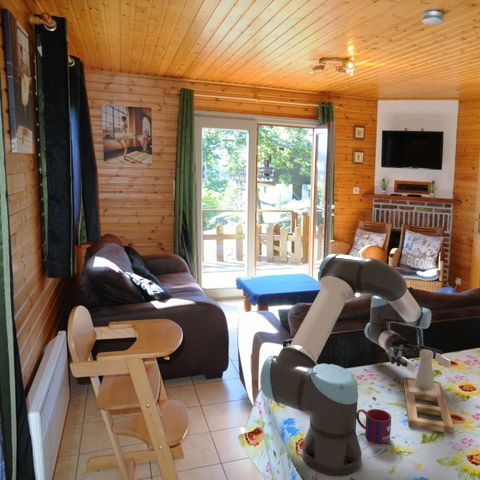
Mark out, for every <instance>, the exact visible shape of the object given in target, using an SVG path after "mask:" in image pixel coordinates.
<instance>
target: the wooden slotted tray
mask: <svg viewBox="0 0 480 480" xmlns="http://www.w3.org/2000/svg"><path fill="white" fill-rule="evenodd" d="M415 378H416V377H408V376H404V377H403V386H404V395H405V396H404V398H405V404H406V406H405V408H406V415H407V424H408V425H407V426H408V427H411V428H418V429H423V430H430V431H436V432H443V433H449V434H454V430H455V429H454V424H453V420H452V416H451V413H450V409H449V405H448V402H447V399H446V395H445V393H444V389H443V385H442V384H443V383H442V381H436V380H434V383H433V385H432V387H431V388H430V389H429V390H423V389H421V388H418V385H417V383H416V381H415Z"/></svg>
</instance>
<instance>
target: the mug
mask: <svg viewBox="0 0 480 480" xmlns="http://www.w3.org/2000/svg"><path fill="white" fill-rule="evenodd" d="M360 412H362V413H363V414H364V416H365V425H364V424H363V423H362V421H361V419H360ZM356 422H357V424H358V425H359V426H360V427H361V428H362V429H364V431H365V432H364V433H365V434H364V437H365V438H366V440H367V441H368V442H369V443H373V444H375V445H387V444H388V443H390V442H391V441H390V440H391V430H392V428H391V427H392V414H390V413H389V412H388V411H386V410H383V409H378V408H371V409H368V410H367V411H366V410H365V409H361V408H360V409H359V410H358V409H357V418H356Z"/></svg>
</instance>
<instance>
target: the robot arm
mask: <svg viewBox="0 0 480 480" xmlns="http://www.w3.org/2000/svg"><path fill="white" fill-rule="evenodd" d="M318 269H319V270H318V271H317V280H318V284H319V288H320V290H319V291H318V293H317V296H316V297H315V298H314V301H313V303H312V304H311V306H310V308H309V310H308V311H307V314H306V315H305V317H304V319H303V321H302V322H301V324H300V327H299V328H298V330H297V332H296V334H295V335H294V337H293V339H292V341H291V343H289V346H284V347H282V348H281V350H280V352H279V353H278V355H270V356H268V357H266V359H265V360H264V362H263V364H262V367H261V370H260V376H259V379H260V380H259V381H260V383H259V384H260V389H261V391H262V394H263V396H264V397H265V398H267V399H269V400H270V401H274V402H275V403H276V404H281V405H283V406H286V407H289V408H292V409H295V410H296V411H297V410H298V411H300V412H302V413H306V414H308V415H309V428H308V430H307V433H306V435H305V438H304V440H303V443H302V448H301V449H302V453H301V455H302V458H303V460H304V462H305V464H306V465H308V466H309V467H310V468H311V469H313V470H314V471H316V472H319V473H322V474H324V475H330V476H336V477H338V476H346V475H350V474H353V473H356V471H358V470H359V469H360V468H361V465H362V460H363V459H362V458H363V457H362V456H363V455H362V454H363V453H362V448H361V446H360V442H359V439H358V438H359V437H358V436H357V412H358V400H359V392H358V390H359V389H358V386H359V385H358V380H357V379H356V377H355V376H354V374H353V373H352V372H351V371H349V370H348V369H347V368H345V367H342V366H340V365H336V364H333V363H330V364H328V363H320V364H319V363H317V361H318V359H319V356H320V355H321V353H322V351H323V348H324V346H325V345H326V342H327V341H328V338H329V337H330V334H331V333H332V331H333V328H334V326H335V324H336V323H337V320H338V319H339V316H341V315H340V314H341V312H342V311H343V308H344V307H345V305H346V303H349V302H351V301H352V300H353V299H354V297H355V295H356V294H361V295H367V296H372V297H371V302H370V313H369V314H370V315H369V316H370V317H369V318H370V319H369V322H368V323H367V324H366V325H365V328H364V335H365V337H366V338H367V339H369V340H370V341H371V342H372V343H375V344H376V345H378V346H380V347H381V348H382V349H384V350H385V354H386V355H387V356H388V358H389V363H390V364H392V365H395V363H396V366H397V367H401V366H402V367H404V368H405V369H407V370H409V371H410V372H412V374H414V373H416V369H417V368H416V366H417V365H416V363H414V362H412V360H410V359H407V358H406V357H407V356H409V357H410V356H412V357H420V350H422V349H428V350H431V351H432V352H433V354H434V355H433V358H432V359H431V360H434V361H435V362H437V363H439V364H440V365H442V366H444V367H445V368H448V369H451V365H452V360H451V359H450V358H447V356H444V355H443V351H442V350H440V349H436V348H432V347H430V346H429V347H428V346H425V345H422V344H421V343H415V345H413V344H411V343H409V341H408V340H407V338H406V337H404V336H402V335H400V334H398V333H397V332H395V331H394V330H391V328H390V327H391V323H395V324H398V325H403V326H408V327H409V326H410V327H414V328H417V329H428V328H429V327H430V325H431V323H432V311H431V309H429V308H426V307H422V306H421V307H420V305H419V304H418V303H417V301H416V299H415V298H414V297H413V295H412V293H410V291H409V289H408V284H407V281H406V279H405V278H404V276H403V275H402V274H401V273H400V272H399V271H398V270H397V269H395V267H393V266H392V265H390V264H388V263H387V262H385V261H383V260H380V259H377V258H374V257H366V256H355V255H349V254H344V253H332V254H331V253H330V254H327V256H325V257H324V258H323V260H322V261H321V263H320V265H319V267H318ZM404 356H406V357H404Z"/></svg>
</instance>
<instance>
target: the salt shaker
mask: <svg viewBox="0 0 480 480" xmlns="http://www.w3.org/2000/svg"><path fill="white" fill-rule="evenodd" d="M433 355H434V354H433V352H432V351H431V350H428V349H422V350H420V356H419V357H420V358H421V359H420V362H419V365H418V368H417V373H416V374H415V375H416V376H415V377H414V378H415V381H416V383H417V385H418V388H421V389H423V390H429V389H430V388H431V387H432V385H433V383H434V381H435V379H434V377H435V376H434V372H433V371H434V370H433V364H432V363H433V362H432V360H433V359H432V358H433Z"/></svg>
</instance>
